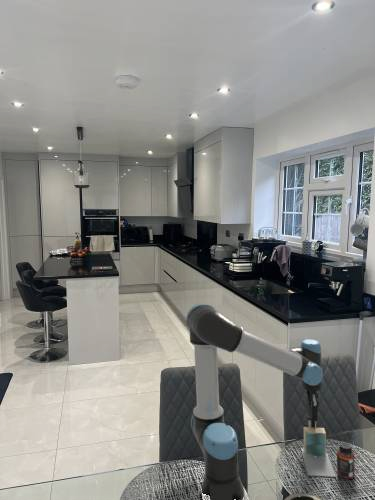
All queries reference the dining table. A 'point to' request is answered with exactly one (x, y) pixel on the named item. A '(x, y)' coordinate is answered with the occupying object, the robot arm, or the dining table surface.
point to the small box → (314, 441)
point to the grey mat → (318, 465)
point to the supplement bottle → (345, 461)
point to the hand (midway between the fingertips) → (312, 433)
